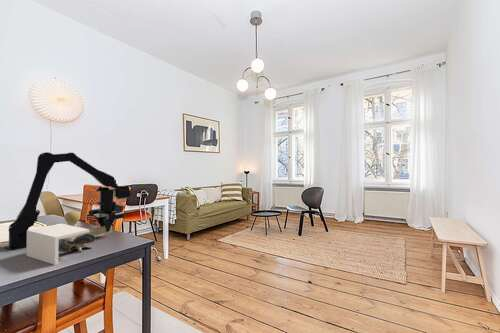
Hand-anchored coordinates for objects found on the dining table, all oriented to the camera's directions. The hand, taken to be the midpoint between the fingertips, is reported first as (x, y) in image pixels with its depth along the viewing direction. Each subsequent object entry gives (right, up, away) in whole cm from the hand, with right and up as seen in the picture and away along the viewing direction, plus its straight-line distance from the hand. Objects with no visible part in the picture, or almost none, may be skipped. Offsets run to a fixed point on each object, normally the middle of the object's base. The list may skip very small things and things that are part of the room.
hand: (106, 231), depth 121 cm
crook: (0, -1, -10) cm, 10 cm away
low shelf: (-1, -1, -29) cm, 29 cm away
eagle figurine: (+4, -2, -24) cm, 25 cm away
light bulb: (-19, -1, +3) cm, 19 cm away
